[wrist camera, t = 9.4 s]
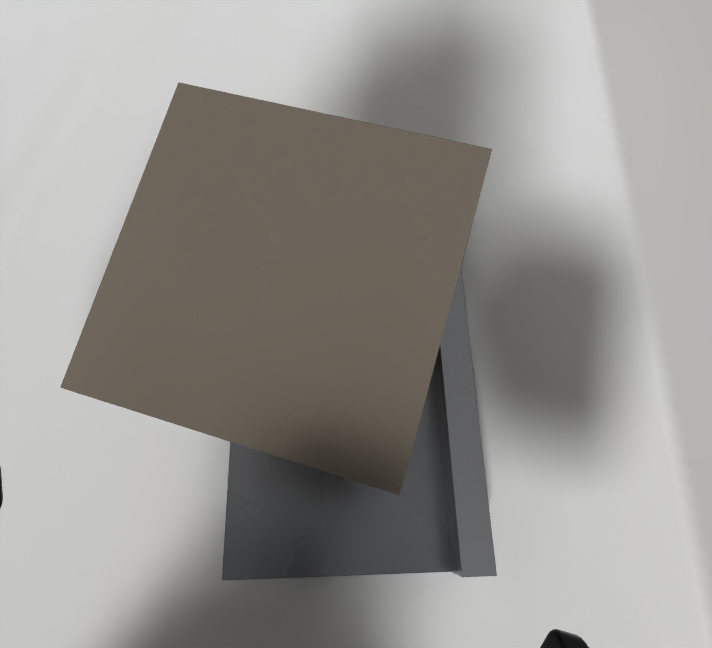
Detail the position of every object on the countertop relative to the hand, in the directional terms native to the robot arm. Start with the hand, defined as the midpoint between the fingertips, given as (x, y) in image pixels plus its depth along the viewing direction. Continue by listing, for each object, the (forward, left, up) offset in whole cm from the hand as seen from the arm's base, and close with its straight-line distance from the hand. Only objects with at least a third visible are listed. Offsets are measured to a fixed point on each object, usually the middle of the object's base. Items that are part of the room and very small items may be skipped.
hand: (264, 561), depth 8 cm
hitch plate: (+6, -2, -9) cm, 11 cm away
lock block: (+6, -2, -8) cm, 10 cm away
